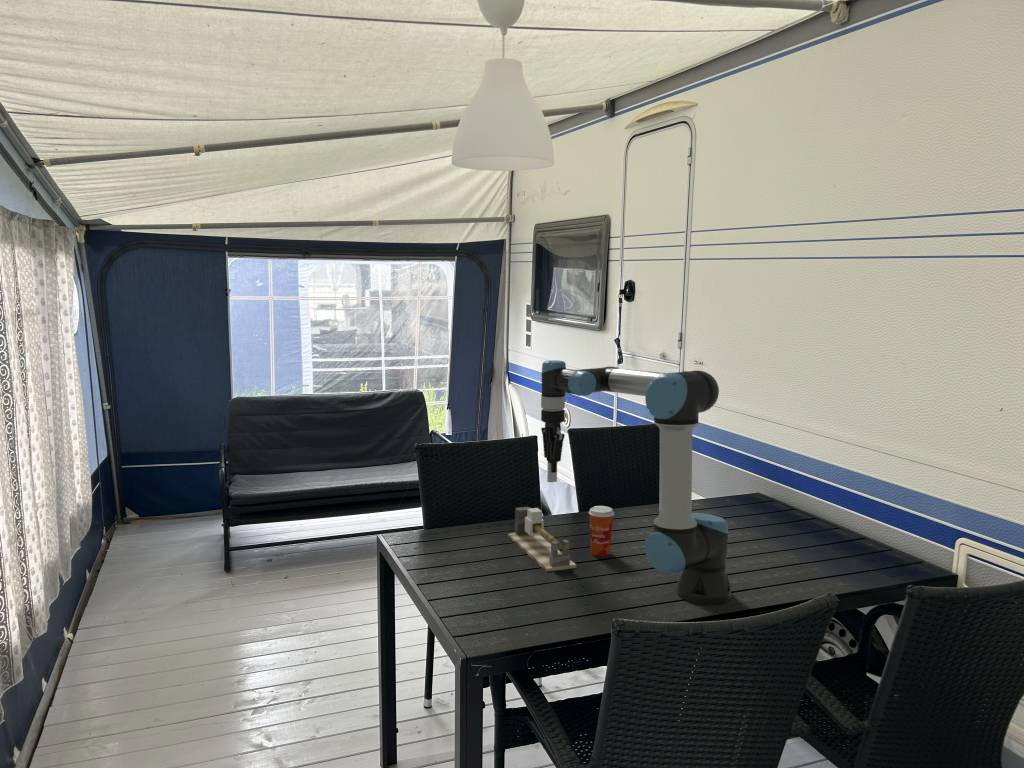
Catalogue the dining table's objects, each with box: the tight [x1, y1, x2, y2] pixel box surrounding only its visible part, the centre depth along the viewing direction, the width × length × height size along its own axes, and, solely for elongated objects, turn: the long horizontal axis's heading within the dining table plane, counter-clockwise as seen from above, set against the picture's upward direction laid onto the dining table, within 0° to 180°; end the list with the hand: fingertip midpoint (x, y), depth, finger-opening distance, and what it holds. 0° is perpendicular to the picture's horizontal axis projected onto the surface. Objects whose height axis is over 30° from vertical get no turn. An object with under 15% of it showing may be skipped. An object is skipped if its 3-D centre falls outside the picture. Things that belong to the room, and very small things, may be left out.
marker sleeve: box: [525, 507, 545, 536], centre depth 257 cm, size 5×5×8 cm
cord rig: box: [507, 506, 577, 572], centre depth 252 cm, size 34×10×10 cm, turn 21°
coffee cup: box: [588, 505, 615, 557], centre depth 251 cm, size 8×8×15 cm
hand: (552, 481), depth 247 cm, fingers closed
